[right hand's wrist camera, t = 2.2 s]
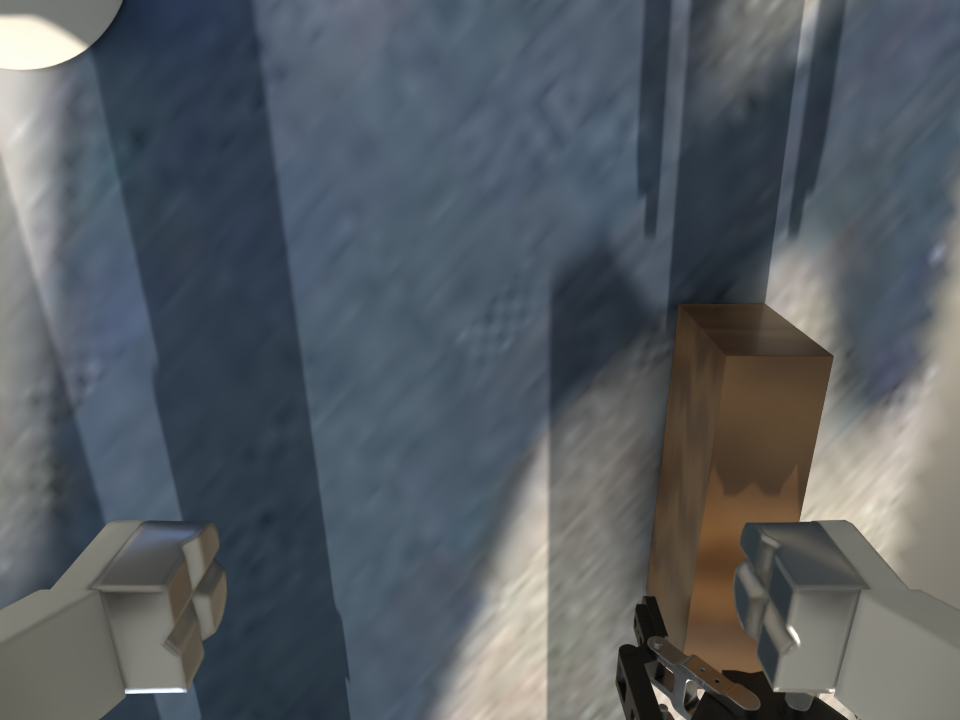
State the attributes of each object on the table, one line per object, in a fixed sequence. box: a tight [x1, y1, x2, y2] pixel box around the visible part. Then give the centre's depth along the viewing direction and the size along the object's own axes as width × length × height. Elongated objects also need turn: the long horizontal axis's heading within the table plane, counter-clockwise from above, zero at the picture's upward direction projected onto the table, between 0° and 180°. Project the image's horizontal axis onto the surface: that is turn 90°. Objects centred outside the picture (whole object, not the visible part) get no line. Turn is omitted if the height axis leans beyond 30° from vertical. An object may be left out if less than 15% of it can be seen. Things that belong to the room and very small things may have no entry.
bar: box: [646, 304, 834, 689], centre depth 42 cm, size 22×5×9 cm, turn 0°
